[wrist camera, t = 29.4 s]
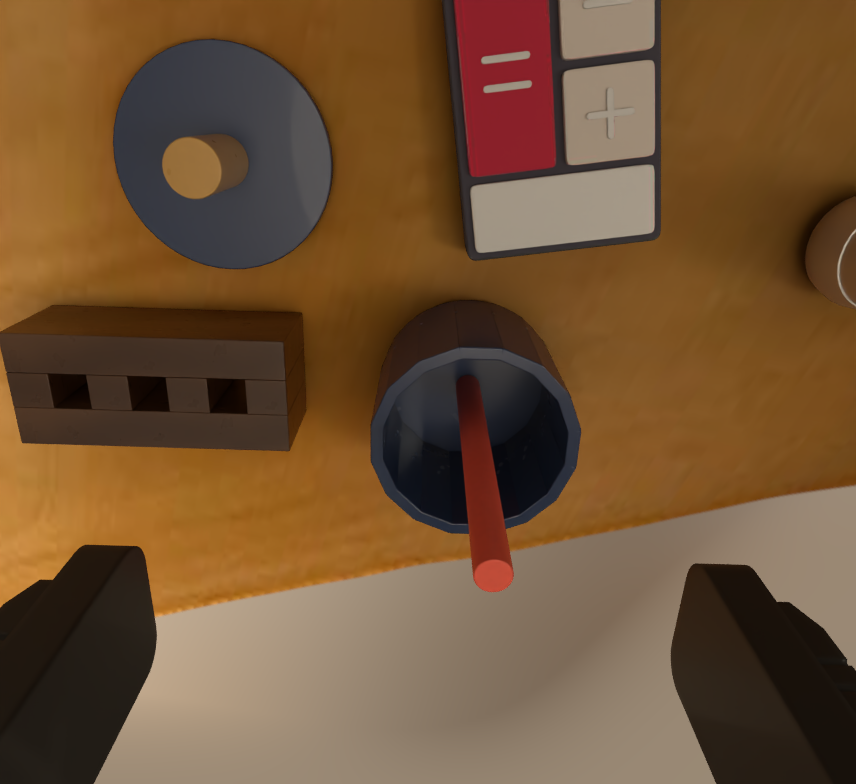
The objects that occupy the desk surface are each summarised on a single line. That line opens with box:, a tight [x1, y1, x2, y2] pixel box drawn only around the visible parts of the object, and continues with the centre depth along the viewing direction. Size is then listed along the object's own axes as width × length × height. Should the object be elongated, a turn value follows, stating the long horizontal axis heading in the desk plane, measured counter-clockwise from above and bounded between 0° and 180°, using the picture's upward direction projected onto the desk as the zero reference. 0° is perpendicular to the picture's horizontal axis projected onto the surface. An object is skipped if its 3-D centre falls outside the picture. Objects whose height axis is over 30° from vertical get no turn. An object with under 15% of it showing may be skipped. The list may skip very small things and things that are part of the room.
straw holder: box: [0, 305, 306, 451], centre depth 42 cm, size 7×16×6 cm, turn 88°
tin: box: [371, 300, 581, 534], centre depth 41 cm, size 11×11×10 cm
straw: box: [456, 375, 514, 592], centre depth 36 cm, size 2×2×20 cm
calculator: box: [442, 0, 661, 261], centre depth 37 cm, size 11×4×15 cm
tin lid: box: [113, 39, 333, 269], centre depth 37 cm, size 13×13×7 cm
